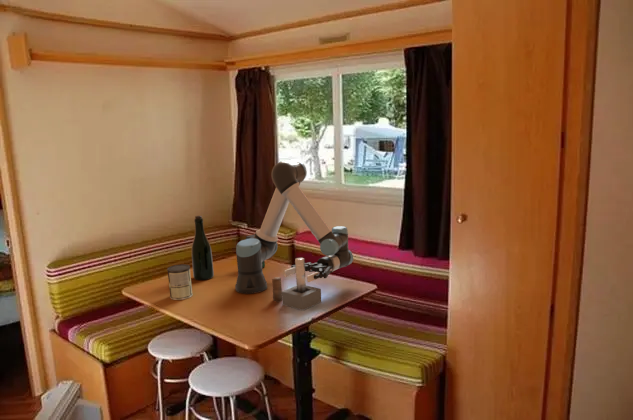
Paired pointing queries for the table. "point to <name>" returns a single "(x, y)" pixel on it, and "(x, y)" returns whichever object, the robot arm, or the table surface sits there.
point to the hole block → (301, 297)
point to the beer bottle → (201, 253)
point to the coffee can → (179, 282)
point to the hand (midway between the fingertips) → (296, 276)
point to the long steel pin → (300, 275)
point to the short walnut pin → (277, 289)
